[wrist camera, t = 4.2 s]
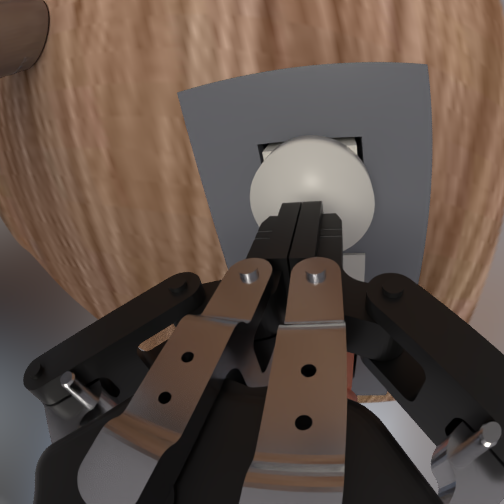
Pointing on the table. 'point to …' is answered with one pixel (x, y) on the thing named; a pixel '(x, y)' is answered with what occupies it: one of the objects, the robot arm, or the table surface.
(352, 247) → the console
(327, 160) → the white plunger
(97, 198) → the table surface
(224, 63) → the table surface
